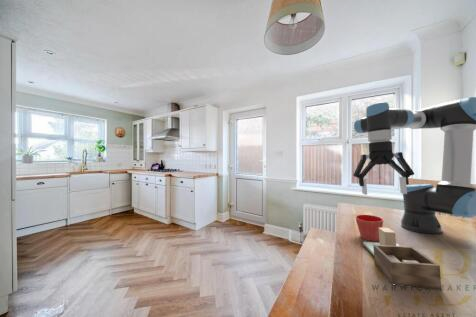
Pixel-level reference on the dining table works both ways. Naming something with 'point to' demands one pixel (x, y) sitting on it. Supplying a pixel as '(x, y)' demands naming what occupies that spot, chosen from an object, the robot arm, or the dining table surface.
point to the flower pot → (369, 226)
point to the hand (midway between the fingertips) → (383, 193)
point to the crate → (407, 266)
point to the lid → (383, 239)
